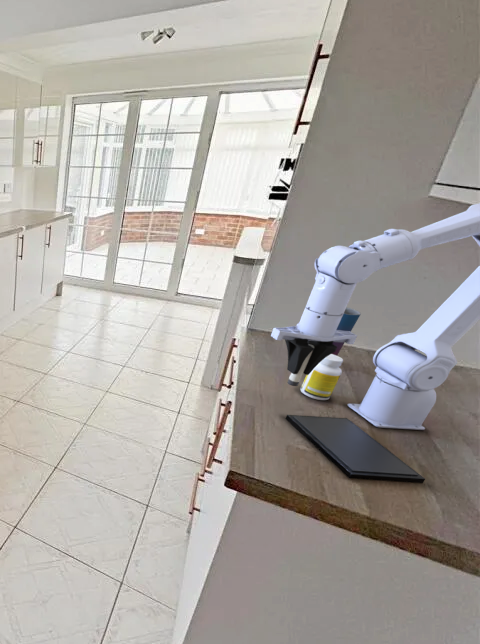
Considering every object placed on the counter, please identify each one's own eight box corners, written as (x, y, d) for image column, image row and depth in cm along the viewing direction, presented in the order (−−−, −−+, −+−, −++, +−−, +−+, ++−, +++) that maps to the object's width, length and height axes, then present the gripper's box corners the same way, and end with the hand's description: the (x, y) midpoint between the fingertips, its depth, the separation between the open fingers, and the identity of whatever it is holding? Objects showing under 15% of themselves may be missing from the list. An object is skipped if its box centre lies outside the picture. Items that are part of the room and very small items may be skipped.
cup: (297, 356, 111) (319, 305, 105) (319, 356, 112) (342, 304, 106) (319, 368, 105) (343, 315, 99) (342, 368, 106) (368, 314, 100)
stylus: (294, 382, 86) (310, 343, 82) (299, 386, 84) (316, 347, 80) (285, 381, 86) (301, 343, 82) (290, 386, 84) (307, 347, 81)
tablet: (345, 422, 84) (347, 417, 84) (422, 483, 69) (426, 478, 69) (285, 418, 85) (287, 413, 84) (349, 478, 70) (352, 473, 69)
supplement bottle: (334, 402, 91) (353, 364, 87) (307, 399, 92) (324, 361, 88) (320, 389, 96) (337, 352, 92) (294, 386, 97) (310, 349, 93)
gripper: (347, 304, 81) (320, 364, 87) (272, 301, 82) (250, 360, 88) (376, 318, 75) (346, 381, 81) (295, 314, 76) (270, 377, 82)
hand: (297, 372), depth 84 cm, fingers closed on stylus, 2 cm apart
